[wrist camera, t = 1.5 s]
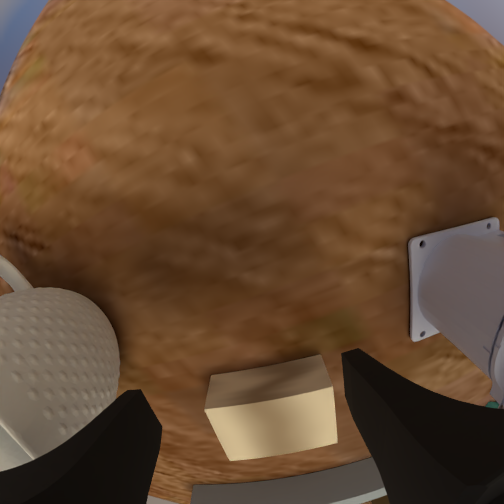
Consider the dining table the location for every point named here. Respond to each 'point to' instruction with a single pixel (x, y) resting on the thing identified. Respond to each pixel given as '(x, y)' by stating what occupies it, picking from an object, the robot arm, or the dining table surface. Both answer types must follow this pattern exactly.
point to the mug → (50, 367)
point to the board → (301, 488)
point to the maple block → (273, 409)
